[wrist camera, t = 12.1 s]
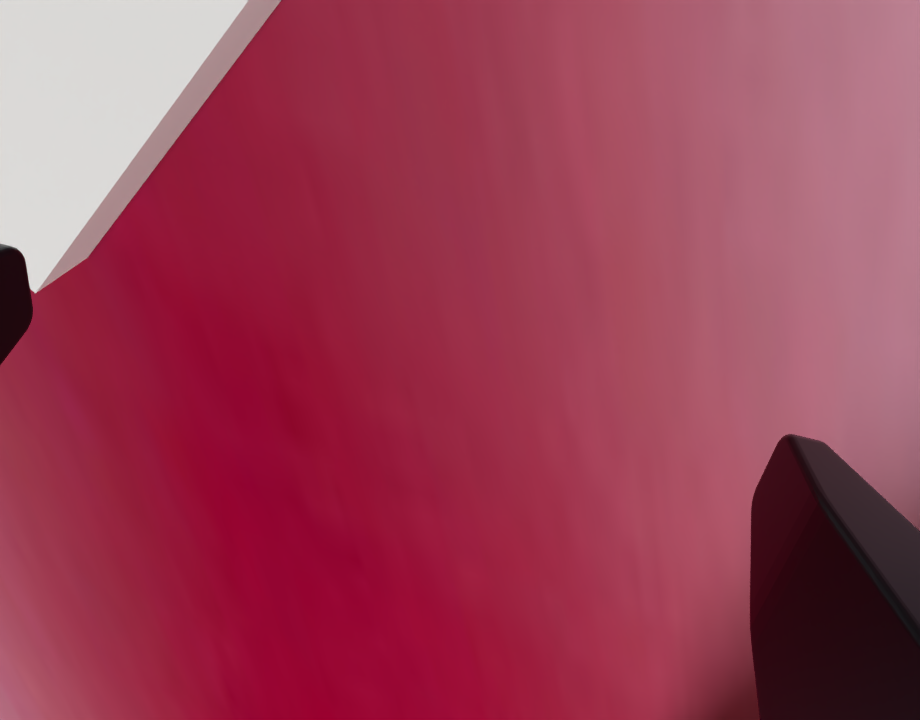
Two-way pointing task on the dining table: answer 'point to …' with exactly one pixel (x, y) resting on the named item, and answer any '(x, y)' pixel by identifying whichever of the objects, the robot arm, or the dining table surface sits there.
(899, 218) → the dining table surface
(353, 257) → the dining table surface
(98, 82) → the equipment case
